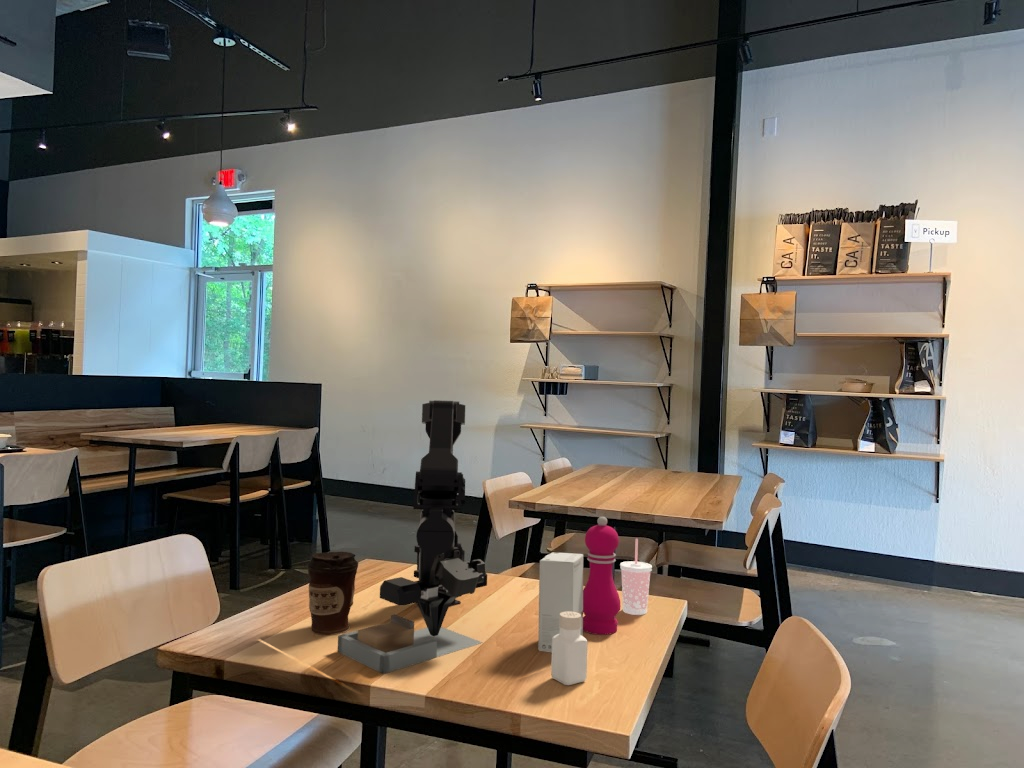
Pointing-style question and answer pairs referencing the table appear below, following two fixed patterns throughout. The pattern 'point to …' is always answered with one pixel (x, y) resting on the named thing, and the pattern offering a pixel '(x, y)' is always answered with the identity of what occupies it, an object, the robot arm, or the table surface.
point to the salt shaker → (569, 650)
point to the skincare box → (558, 593)
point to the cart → (389, 634)
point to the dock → (404, 649)
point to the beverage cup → (635, 585)
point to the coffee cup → (331, 591)
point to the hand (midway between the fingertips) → (434, 635)
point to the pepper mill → (601, 581)
